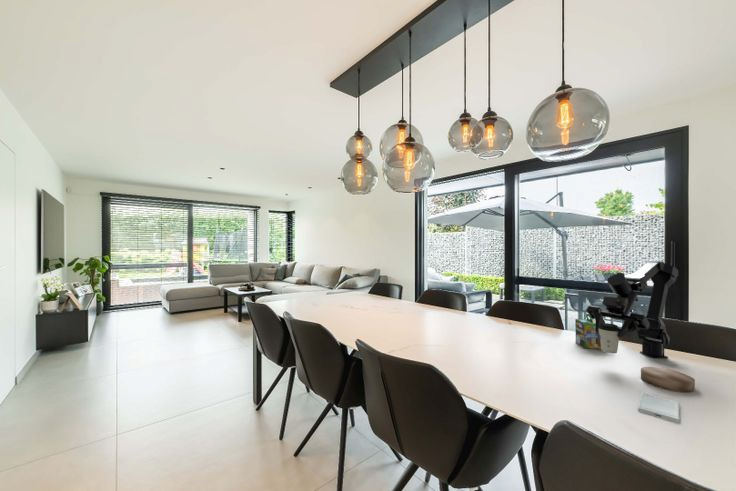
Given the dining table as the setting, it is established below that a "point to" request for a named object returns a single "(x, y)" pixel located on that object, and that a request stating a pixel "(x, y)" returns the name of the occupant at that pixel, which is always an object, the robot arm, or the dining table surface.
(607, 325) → the coffee cup
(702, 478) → the dining table surface
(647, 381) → the podium
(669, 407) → the hard drive
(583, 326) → the chalk box
